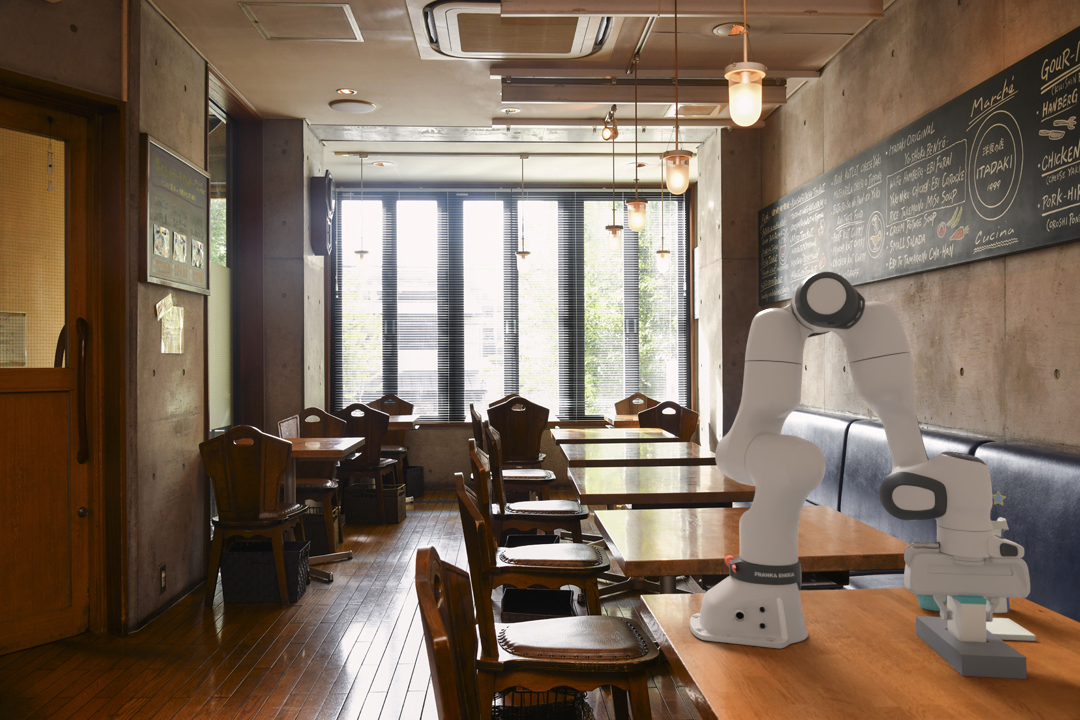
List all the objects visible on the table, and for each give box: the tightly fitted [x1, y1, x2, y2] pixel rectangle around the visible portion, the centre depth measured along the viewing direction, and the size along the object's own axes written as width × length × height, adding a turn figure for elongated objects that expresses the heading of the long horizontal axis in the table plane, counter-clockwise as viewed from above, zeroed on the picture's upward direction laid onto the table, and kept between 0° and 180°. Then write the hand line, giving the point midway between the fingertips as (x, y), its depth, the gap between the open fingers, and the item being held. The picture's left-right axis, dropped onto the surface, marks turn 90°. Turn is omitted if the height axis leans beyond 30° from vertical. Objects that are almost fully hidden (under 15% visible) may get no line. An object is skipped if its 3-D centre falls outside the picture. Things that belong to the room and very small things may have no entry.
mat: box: [986, 617, 1037, 642], centre depth 143 cm, size 10×10×1 cm
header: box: [915, 615, 1028, 680], centre depth 130 cm, size 10×20×4 cm, turn 172°
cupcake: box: [915, 595, 947, 612], centre depth 158 cm, size 9×8×12 cm
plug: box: [946, 595, 986, 642], centre depth 130 cm, size 4×6×11 cm
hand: (966, 620), depth 131 cm, fingers open, 5 cm apart
